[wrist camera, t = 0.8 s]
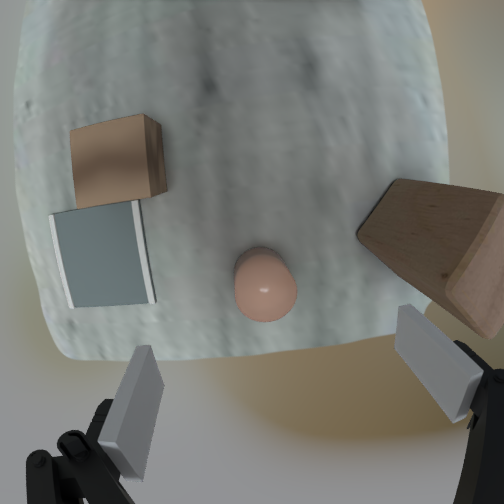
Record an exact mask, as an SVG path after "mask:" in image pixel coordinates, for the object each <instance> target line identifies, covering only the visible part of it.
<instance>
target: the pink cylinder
mask: <svg viewBox="0 0 504 504" xmlns="http://www.w3.org/2000/svg"><path fill="white" fill-rule="evenodd" d="M234 285H235V299H236V303H237V306H238V308H239V309H240V311H241V312H242V313H243V314H244V315H245V316H247V317H248V318H250V319H252V320H255V321H259V322H271V321H275V320H277V319H280V318H282V317H283V316H285V315H286V314H287V313H288V312H289V311H290V310H291V309H292V307H293V306H294V304H295V301H296V298H297V286H296V283H295V280H294V278H293V277H292V275H291V273H290V271H289V270H288V268H287V266H286V264H285V263H284V261H283V259H282V258H281V256H280V255H279V254H278V253H277V252H275V251H274V250H272V249H269V248H265V247H256V248H252V249H250V250H247V251H246V252H244V253H243V254H242V255H241V256H240V257H239V258H238V260H237V262H236V264H235V267H234Z"/></svg>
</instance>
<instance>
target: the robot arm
mask: <svg viewBox="0 0 504 504" xmlns="http://www.w3.org/2000/svg"><path fill="white" fill-rule="evenodd" d="M394 349H395V350H396V351H397V352H398V354H399V355H400V356H401V357H402V358H403V360H404V361H405V362H406V363H407V365H408V366H409V367H410V368H411V370H412V371H413V372H414V374H415V375H416V376H417V377H418V379H419V380H420V381H421V382H422V384H423V385H424V386H425V387H426V389H427V390H428V391H429V393H430V394H431V395H432V397H434V399H435V400H436V402H437V403H438V404H439V405H440V407H441V408H442V410H443V411H444V412H445V414H446V415H447V416H448V418H449V419H450V420H451V422H452V423H455V422H457V421H459V420H461V419H463V418H465V417H466V416H467V413H468V411H469V409H471V410H472V411H473V412H474V413H473V415H472V418H471V420H470V422H469V424H468V427H467V429H469V427H470V432H469V438H468V444H467V449H466V454H465V459H464V464H463V468H462V473H461V477H460V481H459V485H458V488H457V492H456V495H455V499H454V502H453V504H504V369H495V370H493V369H492V368H491V367H490V366H489V365H488V364H487V363H486V362H485V361H484V360H483V359H482V358H480V357H479V356H478V355H476V353H475V352H474V351H472V349H470V348H469V347H468V346H467V345H466V344H465V343H462V342H460V341H458V340H455V341H452V340H450V339H449V338H448V337H447V336H446V335H445V334H444V333H443V332H442V331H441V330H439V329H438V328H437V327H436V326H435V325H434V324H433V323H432V322H430V321H429V320H428V319H427V318H426V317H425V316H424V315H423V314H421V313H420V312H419V311H418V310H417V309H416V308H415V307H413V306H412V305H411V304H407V305H403V306H399V308H398V319H397V329H396V339H395V346H394ZM163 389H164V383H163V380H162V377H161V374H160V372H159V369H158V366H157V363H156V360H155V357H154V354H153V351H152V348H151V345H143V346H137V347H136V349H135V351H134V354H133V356H132V358H131V360H130V363H129V365H128V367H127V369H126V372H125V374H124V377H123V379H122V381H121V384H120V386H119V388H118V391H117V393H116V395H115V398H114V399H105V400H104V401H103V402H102V403H101V404H100V405H99V406H98V408H97V410H96V412H95V416H94V417H93V419H92V422H91V423H90V426H89V428H88V430H87V433H86V435H85V434H84V433H83V432H81V431H78V430H71V431H68V432H66V433H64V434H63V435H61V437H60V438H59V439H58V442H57V448H58V449H59V451H60V452H61V453H62V455H63V456H57V457H52V456H51V455H50V454H49V453H48V452H47V451H46V450H36V451H34V452H32V453H31V454H30V455H29V456H28V458H27V461H26V487H27V504H84V502H83V498H86V499H87V501H88V503H89V504H135V503H134V501H133V500H132V499H131V497H130V496H129V494H128V493H127V492H126V490H125V489H124V488H123V486H122V485H121V483H120V482H119V478H120V474H121V475H122V476H123V478H124V479H125V480H126V481H135V482H143V478H144V473H145V469H146V464H147V459H148V454H149V450H150V445H151V441H152V436H153V432H154V427H155V423H156V418H157V414H158V410H159V405H160V402H161V398H162V394H163Z"/></svg>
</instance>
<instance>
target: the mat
mask: <svg viewBox="0 0 504 504" xmlns="http://www.w3.org/2000/svg"><path fill="white" fill-rule="evenodd" d="M49 221H50V227H51V233H52V238H53V243H54V248H55V253H56V258H57V262H58V267H59V271H60V275H61V279H62V283H63V287H64V290H65V294H66V298H67V301H68V305H69V308H70V309H72V308H75V307H96V306H114V305H130V304H145V303H149V304H155V303H156V296H155V291H154V286H153V281H152V275H151V270H150V264H149V259H148V253H147V247H146V241H145V234H144V228H143V221H142V214H141V206H140V199H139V200H132V201H126V202H119V203H113V204H107V205H100V206H95V207H89V208H83V209H77V210H72V211H67V212H61V213H56V214H51V215H49Z"/></svg>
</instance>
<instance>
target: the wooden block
mask: <svg viewBox="0 0 504 504" xmlns="http://www.w3.org/2000/svg"><path fill="white" fill-rule="evenodd" d="M357 237H358V239H359V241H360V242H361V243H362V244H363V245H364V246H365V247H367V248H368V249H369V250H370V251H371V252H372V253H373V254H375V255H376V256H377V257H378V258H379V259H380V260H381V261H382V262H383V263H385V264H386V265H387V266H388V267H389V268H390V269H391V270H392V271H393V272H394V273H396V274H397V275H398V276H399V277H401V278H402V279H403V280H405V281H406V282H408V283H409V284H411V285H412V286H413V287H415V288H416V289H418V290H419V291H420V292H422V293H423V294H425V295H426V296H427V297H429V298H430V299H431V300H433V301H434V302H436V303H437V304H438V305H440V306H441V307H442V308H444V309H445V310H446V311H448V312H449V313H451V314H452V315H453V316H455V317H456V318H457V319H458V320H460V321H461V322H462V323H464V324H465V325H466V326H468V327H469V328H470V329H471V330H473V331H474V332H475V333H477V334H478V335H479V336H481V337H482V338H485V339H492V338H493V337H494V336H496V334H497V333H498V331H499V330H500V328H501V327H502V325H503V324H504V194H501V193H496V192H490V191H485V190H479V189H473V188H467V187H460V186H454V185H447V184H440V183H432V182H425V181H417V180H408V179H398V180H396V181H395V182H394V183H393V184H392V186H391V187H390V188H389V190H388V191H387V193H386V194H385V195H384V197H383V198H382V200H381V201H380V202H379V204H378V205H377V207H376V208H375V209H374V211H373V212H372V214H371V215H370V216H369V218H368V219H367V220H366V222H365V223H364V224H363V226H362V227H361V228H360V230H359V231H358V234H357Z"/></svg>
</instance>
